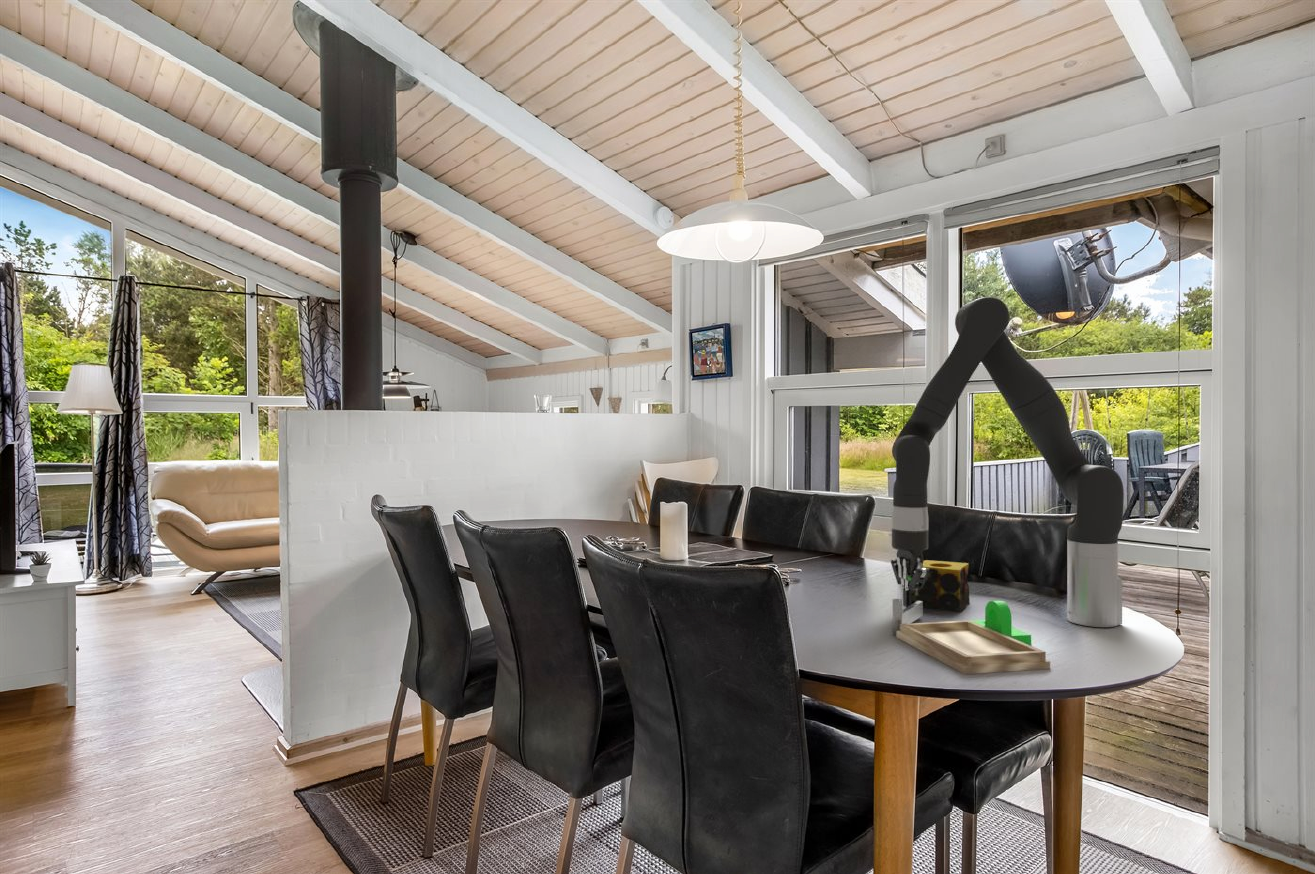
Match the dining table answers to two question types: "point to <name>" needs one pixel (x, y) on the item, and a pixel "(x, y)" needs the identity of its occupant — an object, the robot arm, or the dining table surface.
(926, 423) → the robot arm
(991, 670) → the wooden tray
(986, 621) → the mechanical part
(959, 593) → the yellow spotted cube
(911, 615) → the l-shaped metal bracket
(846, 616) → the dining table surface
